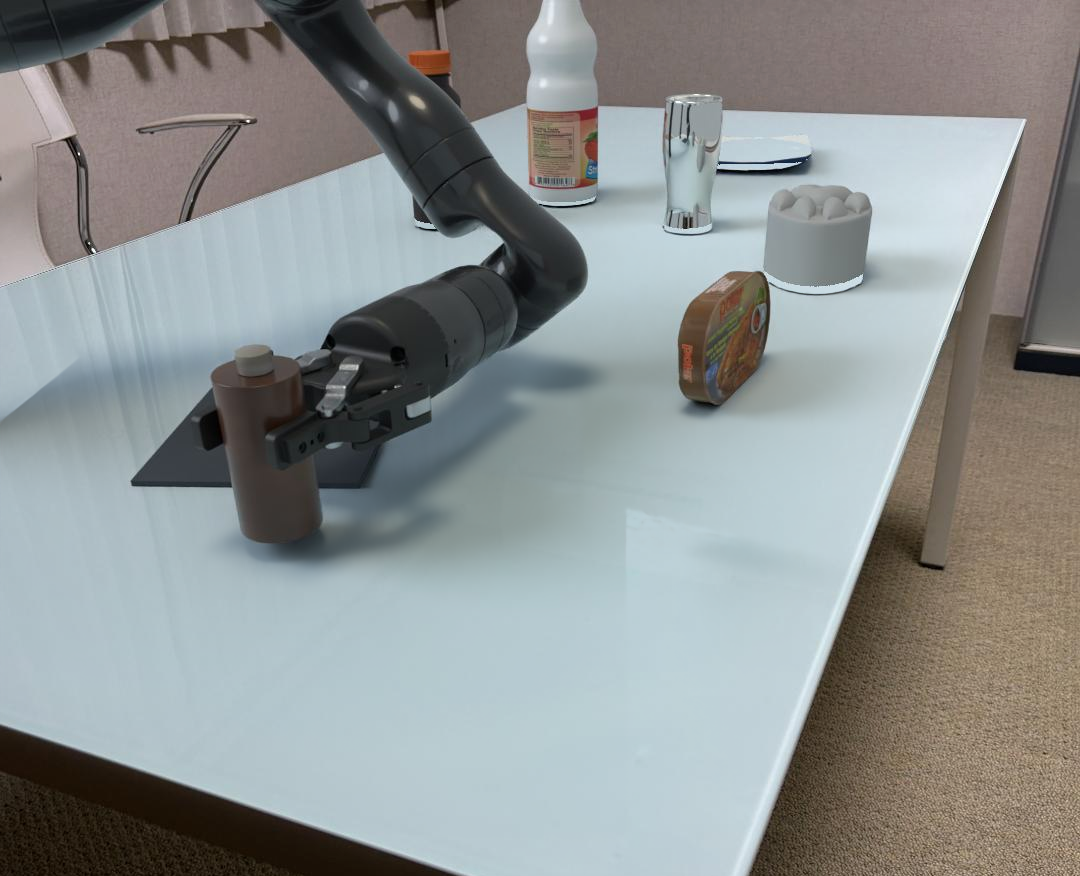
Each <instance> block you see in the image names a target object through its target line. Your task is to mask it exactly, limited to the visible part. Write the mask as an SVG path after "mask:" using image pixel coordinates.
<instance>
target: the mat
mask: <svg viewBox="0 0 1080 876" xmlns="http://www.w3.org/2000/svg"><path fill="white" fill-rule="evenodd" d="M215 403H216V402H215V397H214V392H213V387H212V386H211V387H210V389H209V390H208V391H207V392H206V393H205V394H204V395H203V397H202V398H201V399H200V400H199V401H198V402H197V404H196V405H195V406H194V407H193V408H192V410H191V411H190V412H189V413H188V414H187V415H186V416H185V418H184V419H182V421H181V422H180V423H179V424H178V425H177V427H176V428H175V429H174V430H173V431H172V432H171V434H170V435H169V436H168V437H167V438H166V439H165V440H164V442H163V443H162V444H161V445H160V446H159V447H158V448H157V449H156V450H155V452H154V453H153V454H152V455H151V456H150V457H149V459H148V460H147V461H146V462H145V463H144V465H143V466H142V467H141V468H140V469H139V470H138V471H137V472H136V473H135V475H134V476H133V477H132V478H131V479H130V485H131V486H132V487H133V486H137V487H139V486H140V487H141V486H142V487H143V486H145V487H146V486H147V487H221V488H222V487H231V488H232V483H231V478H230V473H229V468H228V463H227V458H226V453H225V448H224V443H223V444H221V445H219V446H218V447H216V448H214V449H212V450H210V451H207V450H203V449H199V448H197V447H196V446H195V443H194V438H193V434H192V429H191V424H190V421H191V417H192V416H193V415H194V414H195V413H197V412H199V411H201V410H203V409H205V408H207V407H209V406H211V405H213V404H215ZM369 424H370V430H371V429H374V428H376V427H377V426H378V424H379V422H376V421H372V420H369ZM379 446H380V444H379V445H377V446H375V447H373V448H370V449H368V450H364V451H357V450H354V449H352V445H351V442H343V443H342V445H341V446H340V447H338V448H334V449H325V448H322V449H320V450H318V451H317V452H315V453H314V460H315V467H316V473H317V480H318V487H319V489H321V488H323V489H325V488H328V489H329V488H330V489H333V488H334V489H336V488H337V489H360V488H361V486H362V484H363V482H364V479H365V477H366V475H367V473H368V471H369V468H370V466H371V464H372V462H373V459H374V457H375V455H376V453H377V451H378V450H379Z"/></svg>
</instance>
